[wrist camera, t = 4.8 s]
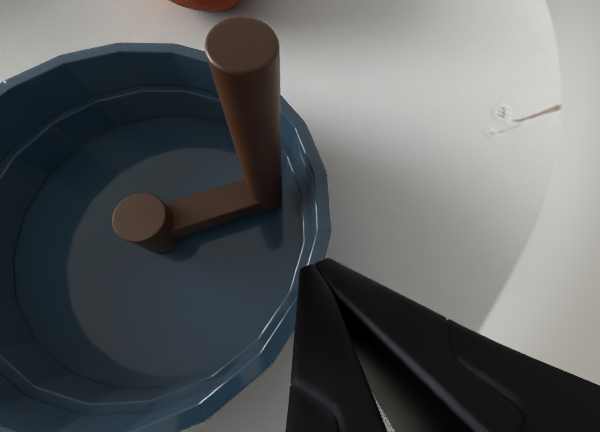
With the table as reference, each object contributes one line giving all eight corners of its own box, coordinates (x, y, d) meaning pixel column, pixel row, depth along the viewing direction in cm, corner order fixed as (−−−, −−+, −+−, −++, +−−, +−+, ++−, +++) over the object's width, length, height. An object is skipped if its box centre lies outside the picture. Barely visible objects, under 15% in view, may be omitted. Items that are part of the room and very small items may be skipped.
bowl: (363, 330, 15) (398, 340, 11) (14, 472, 13) (-145, 568, 8) (265, 82, 20) (258, 12, 15) (-6, 149, 18) (-113, 91, 13)
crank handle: (288, 211, 16) (293, 72, 7) (143, 258, 15) (-105, 171, 6) (275, 175, 17) (262, 0, 7) (135, 217, 16) (-101, 75, 6)
